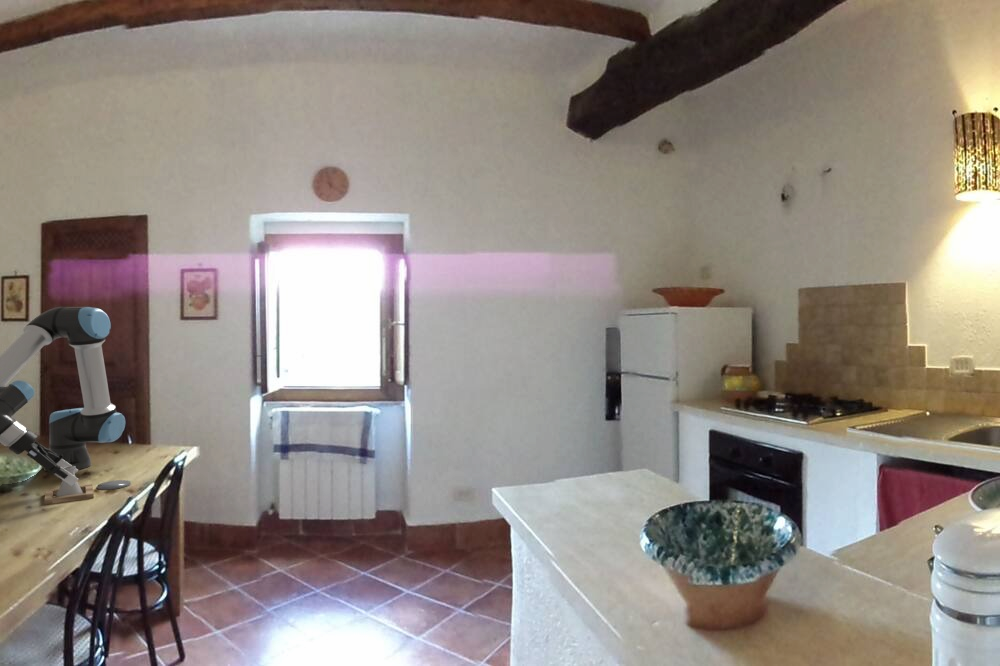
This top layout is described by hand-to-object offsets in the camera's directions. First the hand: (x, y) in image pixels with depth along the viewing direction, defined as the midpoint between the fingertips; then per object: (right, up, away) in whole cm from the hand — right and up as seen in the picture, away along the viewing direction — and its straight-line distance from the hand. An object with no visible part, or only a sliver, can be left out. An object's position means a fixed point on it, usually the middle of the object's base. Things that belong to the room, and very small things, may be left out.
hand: (75, 477), depth 200 cm
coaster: (+5, -6, +12) cm, 14 cm away
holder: (-1, -6, -1) cm, 6 cm away
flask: (-2, -6, -1) cm, 7 cm away
